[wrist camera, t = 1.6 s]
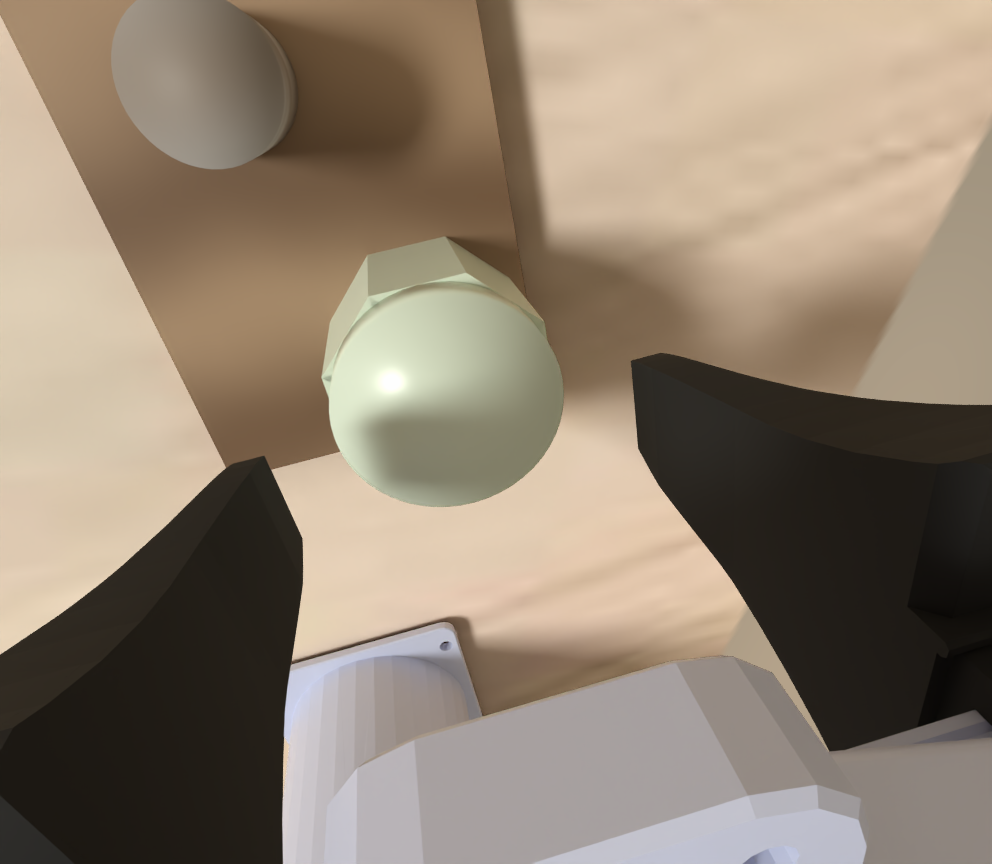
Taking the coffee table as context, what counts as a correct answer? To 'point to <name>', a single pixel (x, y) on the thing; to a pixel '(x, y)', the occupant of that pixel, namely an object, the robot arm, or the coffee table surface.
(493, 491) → the cap
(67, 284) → the coffee table surface
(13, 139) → the coffee table surface
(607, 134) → the coffee table surface
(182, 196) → the post base
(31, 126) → the coffee table surface
